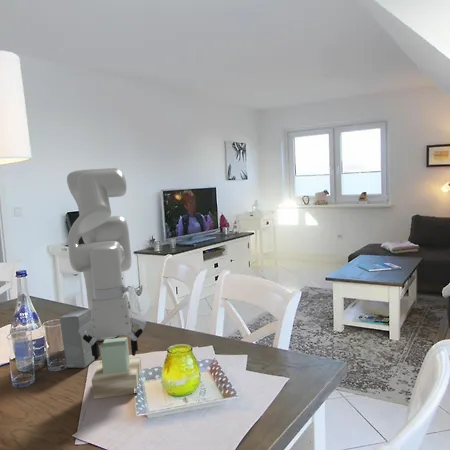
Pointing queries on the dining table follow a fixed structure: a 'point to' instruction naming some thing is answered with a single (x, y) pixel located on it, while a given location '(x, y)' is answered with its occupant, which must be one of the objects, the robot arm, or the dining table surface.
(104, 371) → the sage block
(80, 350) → the skincare box
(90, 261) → the robot arm
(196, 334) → the dining table surface
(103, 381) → the base block
